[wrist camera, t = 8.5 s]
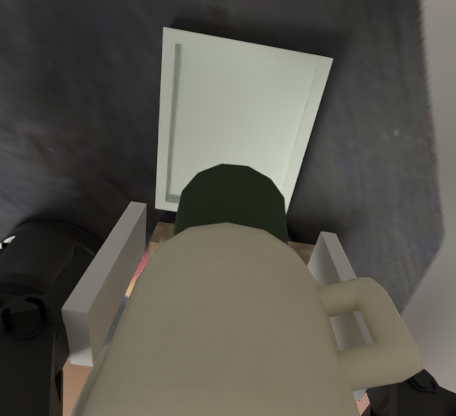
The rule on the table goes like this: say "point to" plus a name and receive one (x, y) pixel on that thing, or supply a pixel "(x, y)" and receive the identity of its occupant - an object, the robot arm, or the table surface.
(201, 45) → the tray
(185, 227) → the character mug
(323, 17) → the table surface
